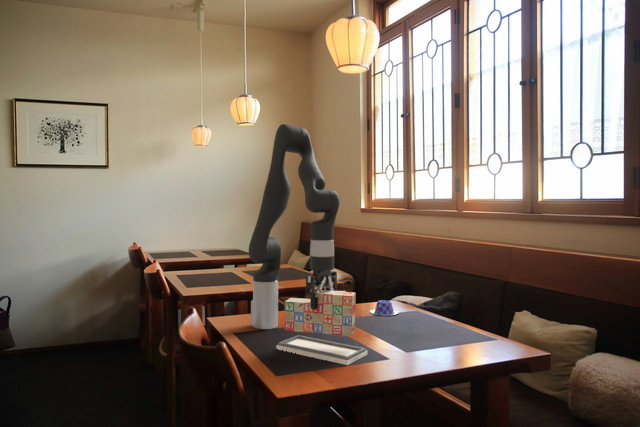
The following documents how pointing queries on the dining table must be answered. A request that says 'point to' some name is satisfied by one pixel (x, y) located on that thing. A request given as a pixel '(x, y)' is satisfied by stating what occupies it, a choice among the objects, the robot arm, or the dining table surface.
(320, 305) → the stack of blocks
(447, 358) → the dining table surface
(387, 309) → the blue checkered hat
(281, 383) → the dining table surface
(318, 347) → the base board
